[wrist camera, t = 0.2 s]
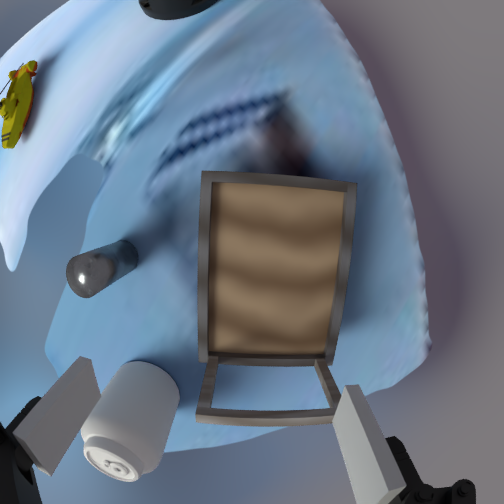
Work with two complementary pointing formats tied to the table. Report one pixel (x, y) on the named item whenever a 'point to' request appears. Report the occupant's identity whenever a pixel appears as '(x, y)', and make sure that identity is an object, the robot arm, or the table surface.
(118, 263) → the steel cylinder
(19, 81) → the toy boat
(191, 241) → the table surface
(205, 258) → the caster cart
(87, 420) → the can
